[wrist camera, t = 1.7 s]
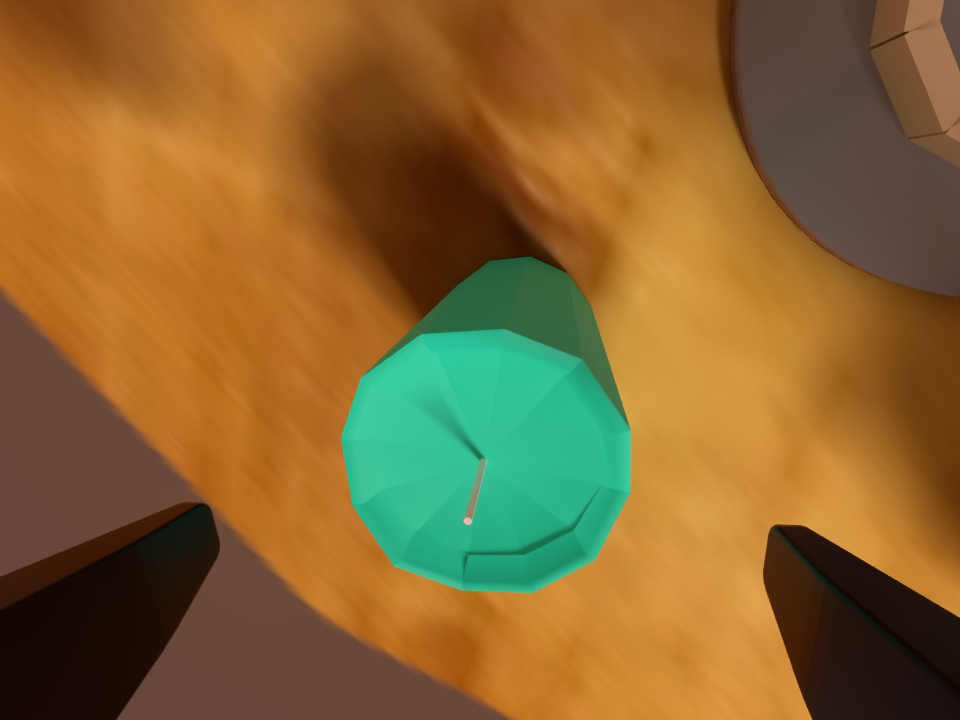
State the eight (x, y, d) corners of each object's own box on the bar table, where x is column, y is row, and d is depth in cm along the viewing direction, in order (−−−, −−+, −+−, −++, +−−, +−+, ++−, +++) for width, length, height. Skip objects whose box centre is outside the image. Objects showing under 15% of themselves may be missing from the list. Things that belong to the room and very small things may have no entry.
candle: (527, 429, 21) (495, 705, 10) (414, 340, 20) (241, 524, 9) (628, 323, 19) (736, 518, 8) (506, 222, 18) (430, 270, 7)
